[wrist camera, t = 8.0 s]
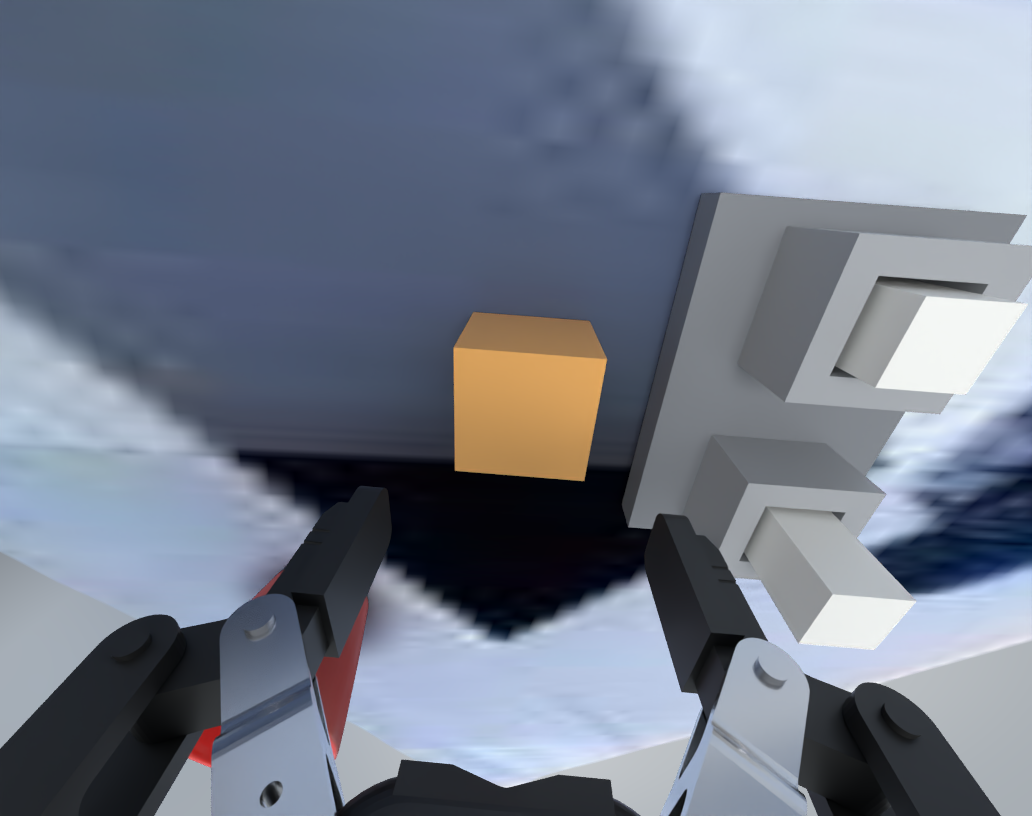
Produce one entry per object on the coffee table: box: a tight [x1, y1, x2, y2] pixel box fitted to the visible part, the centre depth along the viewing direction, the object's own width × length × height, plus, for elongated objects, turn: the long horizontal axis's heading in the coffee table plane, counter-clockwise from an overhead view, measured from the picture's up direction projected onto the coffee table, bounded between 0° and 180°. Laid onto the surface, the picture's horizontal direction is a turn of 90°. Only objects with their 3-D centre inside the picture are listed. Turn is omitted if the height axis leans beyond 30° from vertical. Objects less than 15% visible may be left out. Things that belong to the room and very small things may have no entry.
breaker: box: [744, 506, 916, 650], centre depth 17 cm, size 3×3×6 cm
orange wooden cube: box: [454, 312, 607, 481], centre depth 19 cm, size 6×6×6 cm
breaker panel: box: [622, 193, 1032, 580], centre depth 19 cm, size 18×12×6 cm, turn 176°
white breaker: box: [835, 276, 1028, 395], centre depth 15 cm, size 3×3×6 cm
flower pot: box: [188, 570, 368, 767], centre depth 27 cm, size 11×11×10 cm
